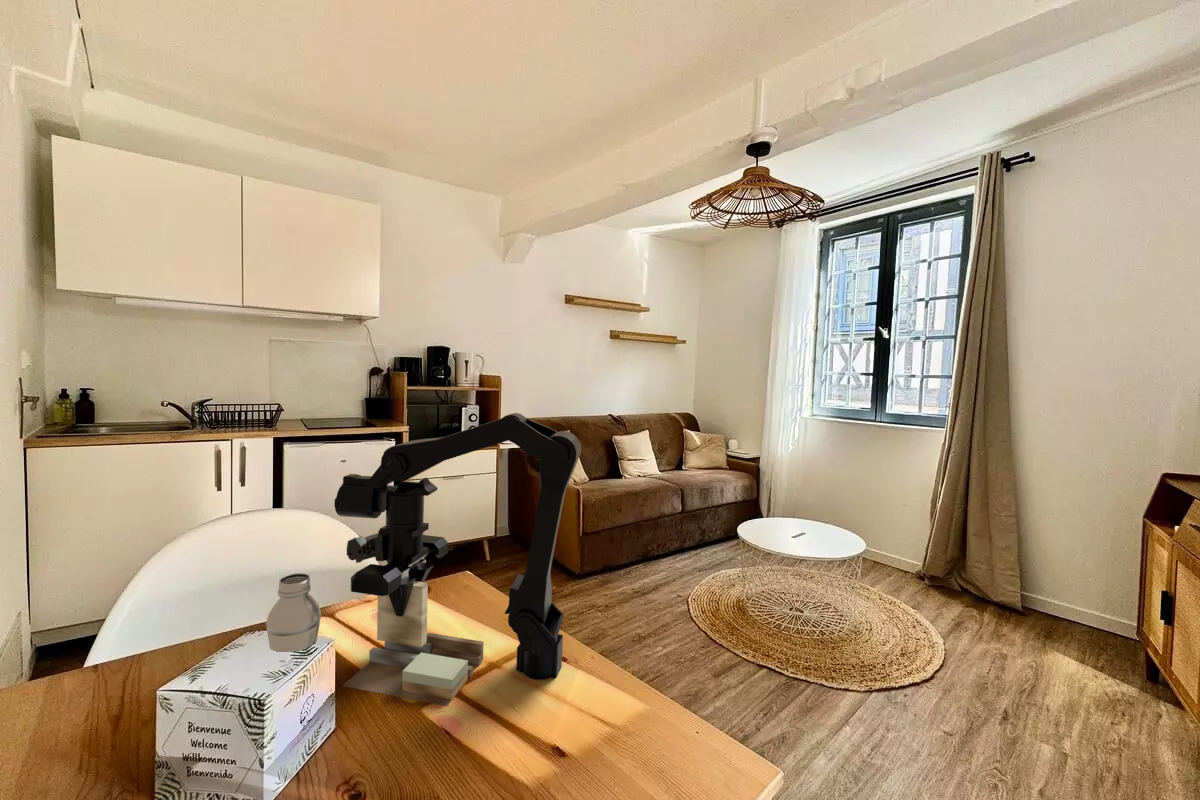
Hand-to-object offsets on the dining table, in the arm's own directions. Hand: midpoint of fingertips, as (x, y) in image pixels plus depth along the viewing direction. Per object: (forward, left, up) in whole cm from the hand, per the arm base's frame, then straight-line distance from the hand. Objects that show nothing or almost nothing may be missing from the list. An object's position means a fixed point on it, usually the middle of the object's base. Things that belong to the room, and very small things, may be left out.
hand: (403, 613), depth 83 cm
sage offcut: (-9, +5, -6) cm, 12 cm away
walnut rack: (-4, +3, -8) cm, 10 cm away
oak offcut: (-9, +5, -7) cm, 13 cm away
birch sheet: (0, 0, -5) cm, 5 cm away
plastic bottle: (+6, +16, -9) cm, 19 cm away
